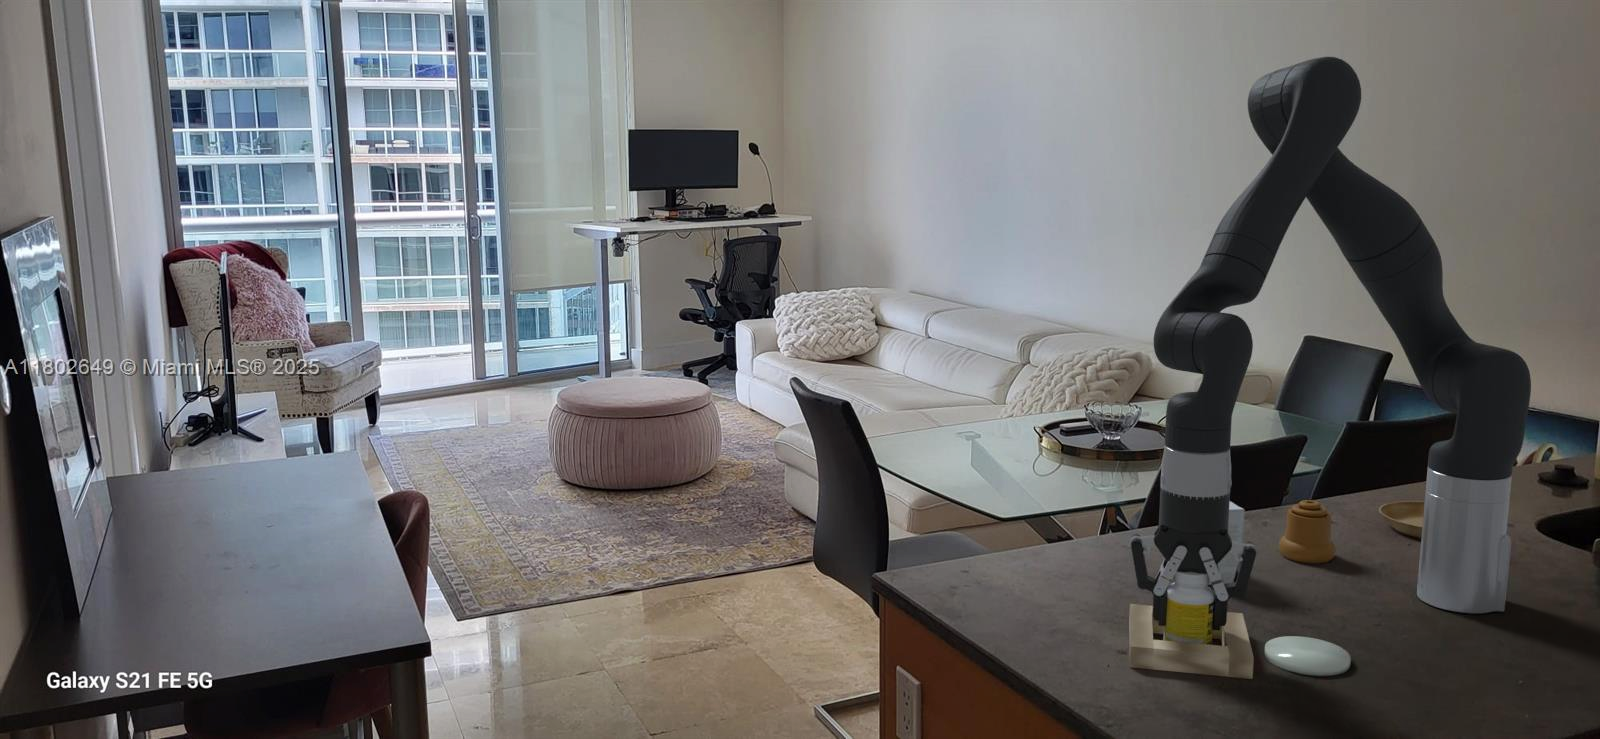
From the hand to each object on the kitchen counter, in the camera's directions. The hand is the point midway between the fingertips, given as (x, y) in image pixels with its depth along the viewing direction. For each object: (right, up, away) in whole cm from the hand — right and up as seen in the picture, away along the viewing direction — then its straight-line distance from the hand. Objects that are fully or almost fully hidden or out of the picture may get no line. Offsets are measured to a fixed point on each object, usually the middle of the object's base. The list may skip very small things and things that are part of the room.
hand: (1188, 625), depth 137 cm
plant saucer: (+51, +5, +42) cm, 67 cm away
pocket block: (0, -3, +1) cm, 3 cm away
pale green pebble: (+13, -3, -2) cm, 13 cm away
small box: (+11, +1, +25) cm, 27 cm away
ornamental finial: (+27, +3, +31) cm, 42 cm away
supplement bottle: (0, -3, +1) cm, 3 cm away
